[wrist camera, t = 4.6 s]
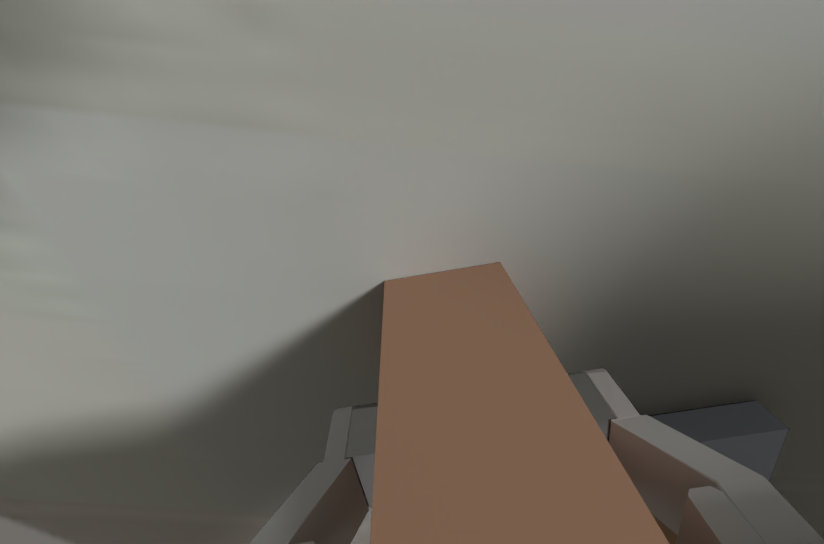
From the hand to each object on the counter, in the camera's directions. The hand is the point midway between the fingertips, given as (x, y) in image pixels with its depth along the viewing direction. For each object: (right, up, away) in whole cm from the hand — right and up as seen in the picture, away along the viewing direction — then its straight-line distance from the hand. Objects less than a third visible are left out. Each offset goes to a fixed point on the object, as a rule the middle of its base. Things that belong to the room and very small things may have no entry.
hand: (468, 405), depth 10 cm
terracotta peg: (0, +2, +4) cm, 4 cm away
